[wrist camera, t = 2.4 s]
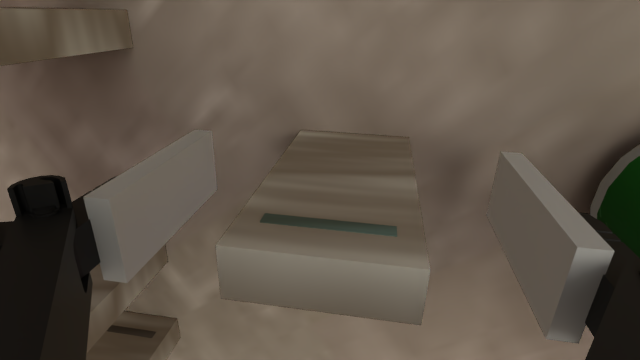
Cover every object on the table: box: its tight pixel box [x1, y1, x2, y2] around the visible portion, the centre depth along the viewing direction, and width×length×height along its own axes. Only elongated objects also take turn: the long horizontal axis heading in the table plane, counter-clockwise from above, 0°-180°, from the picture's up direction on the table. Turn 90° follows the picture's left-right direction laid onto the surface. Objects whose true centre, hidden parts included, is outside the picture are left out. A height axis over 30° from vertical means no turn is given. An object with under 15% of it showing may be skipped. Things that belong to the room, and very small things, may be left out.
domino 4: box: [87, 245, 168, 352], centre depth 18 cm, size 2×5×10 cm, turn 89°
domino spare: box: [215, 130, 430, 325], centre depth 14 cm, size 2×5×10 cm, turn 89°
